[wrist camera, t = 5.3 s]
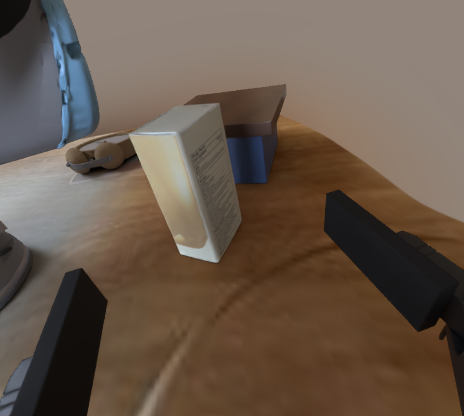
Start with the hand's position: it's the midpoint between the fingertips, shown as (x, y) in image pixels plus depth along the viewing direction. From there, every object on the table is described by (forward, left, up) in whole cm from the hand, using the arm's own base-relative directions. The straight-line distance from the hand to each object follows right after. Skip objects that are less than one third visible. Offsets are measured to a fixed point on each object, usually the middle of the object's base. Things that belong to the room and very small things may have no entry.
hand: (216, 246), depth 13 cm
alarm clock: (-33, +27, -7) cm, 43 cm away
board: (-7, +25, 0) cm, 26 cm away
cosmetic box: (-5, +8, -7) cm, 12 cm away
